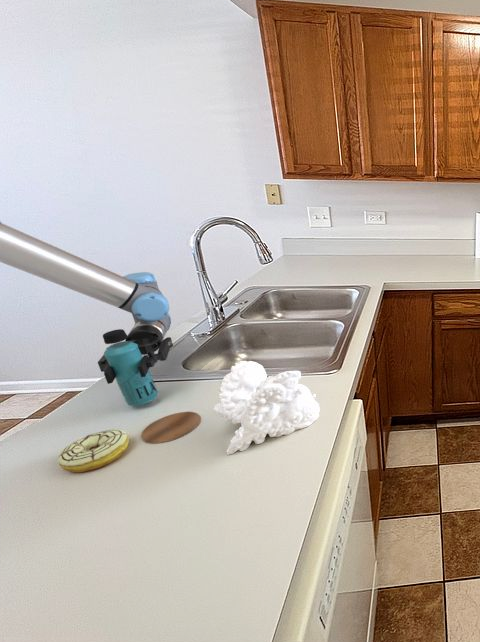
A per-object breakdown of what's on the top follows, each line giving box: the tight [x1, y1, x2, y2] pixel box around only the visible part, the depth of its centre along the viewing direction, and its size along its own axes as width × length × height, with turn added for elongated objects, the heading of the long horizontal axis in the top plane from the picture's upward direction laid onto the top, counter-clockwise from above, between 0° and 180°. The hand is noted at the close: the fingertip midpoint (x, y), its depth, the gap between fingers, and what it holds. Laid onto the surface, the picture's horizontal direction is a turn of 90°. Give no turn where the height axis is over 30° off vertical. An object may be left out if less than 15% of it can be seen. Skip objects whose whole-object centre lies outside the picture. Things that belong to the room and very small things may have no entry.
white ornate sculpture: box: [212, 360, 321, 456], centre depth 88 cm, size 19×20×20 cm
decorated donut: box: [56, 429, 130, 473], centre depth 81 cm, size 10×11×4 cm
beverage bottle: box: [102, 328, 159, 407], centre depth 95 cm, size 6×7×20 cm
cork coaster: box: [140, 411, 202, 445], centre depth 90 cm, size 11×11×1 cm
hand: (125, 374), depth 91 cm, fingers closed on beverage bottle, 5 cm apart
